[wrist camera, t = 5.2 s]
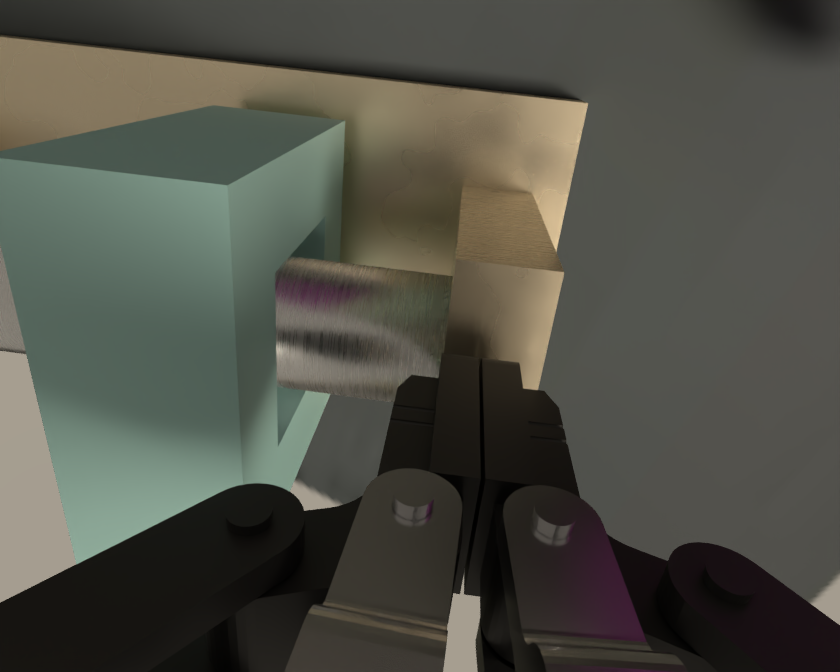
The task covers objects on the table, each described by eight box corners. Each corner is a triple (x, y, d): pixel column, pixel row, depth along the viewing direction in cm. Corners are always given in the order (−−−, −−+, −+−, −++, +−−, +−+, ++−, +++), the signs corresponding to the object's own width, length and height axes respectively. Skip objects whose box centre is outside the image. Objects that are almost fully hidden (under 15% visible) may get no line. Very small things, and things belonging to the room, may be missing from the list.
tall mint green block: (345, 120, 15) (227, 185, 8) (335, 382, 19) (248, 590, 11) (212, 105, 15) (-21, 155, 8) (228, 368, 19) (76, 565, 12)
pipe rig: (581, 100, 16) (660, 138, 9) (519, 400, 21) (541, 574, 14) (-434, -15, 17) (-1045, -58, 10) (-282, 296, 22) (-634, 411, 15)
